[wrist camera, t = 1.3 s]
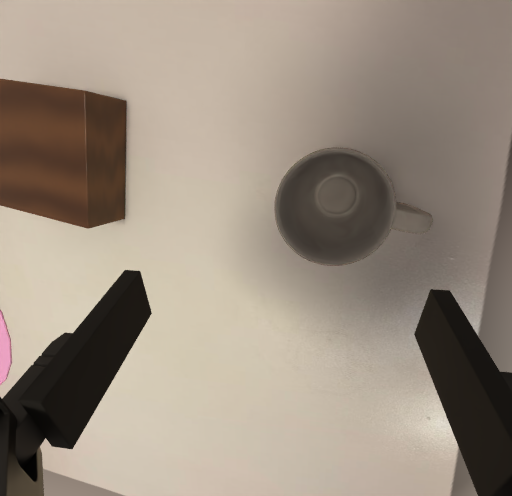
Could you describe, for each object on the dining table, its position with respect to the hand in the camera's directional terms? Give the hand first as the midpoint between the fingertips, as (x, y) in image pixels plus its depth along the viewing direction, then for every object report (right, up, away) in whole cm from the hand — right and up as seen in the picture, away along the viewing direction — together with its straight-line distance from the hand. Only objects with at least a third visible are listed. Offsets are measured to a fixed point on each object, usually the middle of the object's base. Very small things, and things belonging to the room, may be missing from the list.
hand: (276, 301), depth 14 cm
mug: (+9, +8, +17) cm, 21 cm away
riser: (-24, +14, +25) cm, 37 cm away
